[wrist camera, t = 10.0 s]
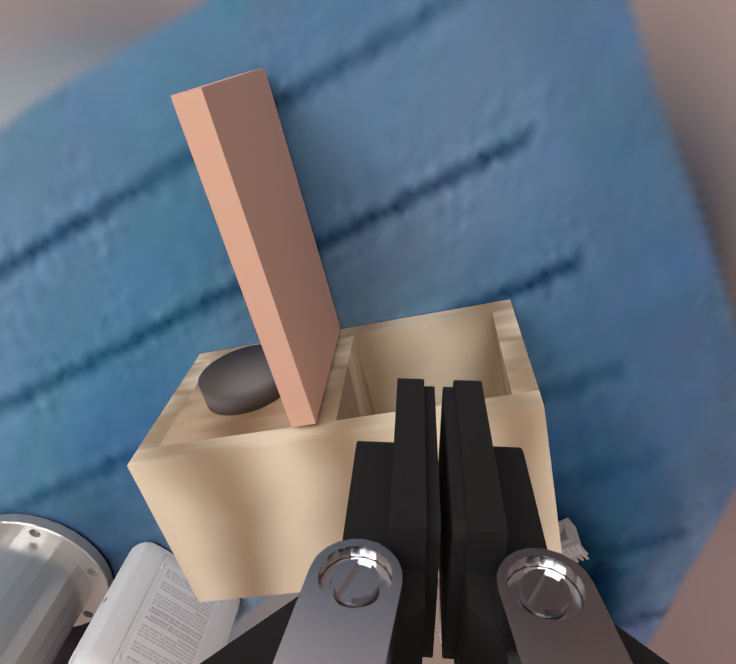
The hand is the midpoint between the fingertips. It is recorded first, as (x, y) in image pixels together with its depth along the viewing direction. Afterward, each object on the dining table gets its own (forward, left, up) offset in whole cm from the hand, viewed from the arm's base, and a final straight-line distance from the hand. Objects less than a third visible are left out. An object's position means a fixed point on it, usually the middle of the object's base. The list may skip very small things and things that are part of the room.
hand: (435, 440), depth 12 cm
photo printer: (-25, -28, -23) cm, 45 cm away
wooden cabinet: (-6, -13, -23) cm, 27 cm away
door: (-8, 0, -22) cm, 24 cm away
